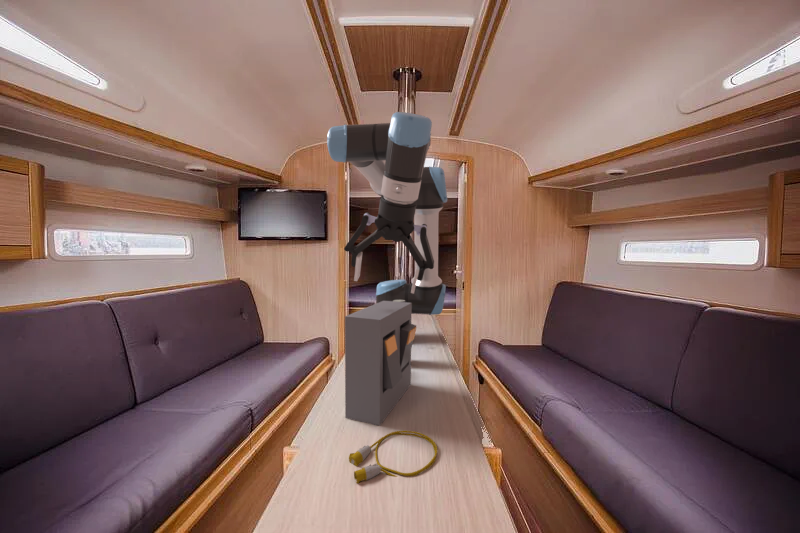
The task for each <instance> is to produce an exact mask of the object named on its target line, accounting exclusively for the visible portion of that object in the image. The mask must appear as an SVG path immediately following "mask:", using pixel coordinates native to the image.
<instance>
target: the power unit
mask: <svg viewBox="0 0 800 533" xmlns="http://www.w3.org/2000/svg"><path fill="white" fill-rule="evenodd" d="M411 313H412V303H408V302H395V301H381V302H379V303H377V304H376V303H373V304H372V305H369V306H367V307H365V308H362V309H359V310H357V311H355V312H353V313H349V314H347V315H345V316H344V342H345V343H344V353H345V354H344V362H345V363H344V365H345V367H344V371H345V372H344V376H345V377H344V378H345V379H344V382H345V383H344V386H345V388H344V389H345V394H344V396H345V397H344V399H345V401H344V402H345V404H344V405H345V406H344V407H345V411H344V412H345V417H344V418H345V419H350V420H354V421H358V422H362V423H366V424H371V425H374V426H381V425H382V423H383V422H384V420H386V418H387V416H389V414H390V413H391V412H392V410H393V409H394V408H395V406H396V405H397V404H398V402H399V401H400V400H401V398H402V397H403V395H405V393H406V391H407V390H408V389H409V388H410V386H411V385H412V381H411V380H412V351H411V352H410V357H409V361H408V363H407V364H406V365H405V366H404V367H403V368H402V369H401V372H402V378H401V379H400V381H399V382H398V383H397V384H396V385H395V386H394V388H393V389H384V387H383V337H384V336H386V335H387V334H393V333H394V335H395V339H396V344H397V350H398V356H399V361H400V331H401V329H402V328H403V327H404V326H406V325H407V324H409V323H410V324H412V314H411Z"/></svg>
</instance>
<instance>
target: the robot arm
mask: <svg viewBox="0 0 800 533" xmlns="http://www.w3.org/2000/svg"><path fill="white" fill-rule="evenodd" d="M432 127H433V122H432V119H430V117H428V116H425V115H421V114H417V113H416V114H415V113H411V112H406V111H405V112H404V111H395V112H394V113H392V115H391V118H390V122H386V123H385V122H383V123H382V122H381V123H369V124H368V123H365V124H362V123H361V124H343V125H335V126H331V127H330V128H329V129H328V132H327V136H326V137H327V138H326V144H327V150H328V154H329V157H330V158H331V160H332V161H334V162H335V163H347V162H349V163H350V164H351V165H353V167H355V169H357V170H358V172H359V173H360V174H361V175H362V176H363V177H364V178H365V179H366V180H367V181H368V183H369V185H370V186H369V187H370V189H372V191H373V192H374V193H375V194H376V195H377V196H380V198H379V205H378V213H377V216H374V215H371V213H370V212H369V211H367V212H365V213H364V214H363V216H362V218H361V221H360V225H359V226H358V228H357V229H356V231H355V232H354V233H353V235H352V236H351V238H350V239H349V241H348V242H347V243H346V245H345V246H344V252H346V253H347V252H349V253H350V254H351V264H350V265H351V267H354V277H353V282H358V280H359V279H360V277H361V269H362V262H363V261H362V260H363V251H364V250H365V249H367V247H369V246H370V245H371V244H373V243H375V242H376V241H378V240H380V239H381V238H383V239H384V240H387V241H393V242H395V243H399V242H402V243H403V246H404V247H406V249H407V251H409V254H410V255H411V257H412V258H413V260H414V276H413V278H411V280H410V282H411V283H407V280H406V279H391V280H385V281H380V282H379V283H378V284H377V285H376V292H375V297H376V298H375V299H376V301H375V304H377V303H379V302H381V301H393V300H405V301H406V302H408V303H412V313H411V315H426V316H427V315H428V316H432V315H435V316H436V315H440V314H441V313H442V312H443V309H444V305H445V304H444V303H445V297H446V296H445V295H446V287H447V286H446V284H444V283H443V280H442V279H441V277H440V276H439V217H440V216H439V215H440V214H439V213H440V211H441V210H442V209H443V208H444V204H446V203H447V202H448V195H447V194H448V193H447V192H448V191H447V185H446V176H445V170H444V169H443V168H442V167H440V166H425V163H426V159H427V154H428V151H429V149H430V146H431V142H432V141H431V135H432V133H431V132H432ZM372 223H374V224H375V227H376V228H377V229H376V230H374V232H372V233H371V234H370V235H368V236H367V237H366V238H364V239H363V240H361V242H359V243H358V244H357V245H355V243H356V242H357V241H358V239H359V237H360V236H361V235H362V233H363V232H364V231H365V229H366V228H367V226H371V224H372ZM413 232H414V237H413V238H414V240H413V238H412V236H411V234H412V233H413Z"/></svg>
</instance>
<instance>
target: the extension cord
mask: <svg viewBox="0 0 800 533" xmlns="http://www.w3.org/2000/svg"><path fill="white" fill-rule="evenodd" d="M397 435H398V436H399V435H400V436H401V435H402V436H411V437H417V438H421V439H423V440H426V441H427V442H428V443H430V445H432V448H433V451H434V455H433V457H432V459H431V460H430V461H429V462H427V464H426V465H425V466H423V467H421V468H420V469H418V470H416V471H413V472H401V471H397V470H395V469H392V468H389V467H387V466H384V465H382V464H381V463H380V462H379V457H378V448H379V445H380V444H381V443H382V442H383V441H384V440H385V439H387V438H389V437H391V436H397ZM375 446H376V447H375ZM374 447H375V452H374V456H375V462H376V463H374V464H371V463H370V464H369V465H367V466H364V467H361V469H357V470H354V472H353V476H354V477H353V478H354V480H356V481H355V483H356V484H359V483H361V482H362V481H364V482H367V481H369V480H370V479H373V478H375V477H376V476H377V475H380V474H381V473H385V474H386V475H388V476H390V477H395V478H397V477H398V475H399V476H405V477H413V476H417V475H419V474H421V473H423V472H425V471H426V470H428V469H429V468H431V467H432V466H433V465H434V464H435V462H436V460H437V454H438V449H439V448H438V446H437V443H436V442H435V441H434V440H433V439H432V438H431V437H429V436H428V435H426V434H424V433H421V432H418V431H413V430H396V431H392V432H389V433H387V434H385V435H384V436H382V437H380V438H379V439H378V440H376V441H375V442H374V443H373V444H371V445H369V444H367V445H364V446H363V447H360V448H359V449H358V450H357V451H356V452H353V453H349V455H348V461H349V463H350V464H351V465H353V466H355V467H358V466H359V465H360V464H362V463H363V462H364V460H365V459H366V458H367V457H368V456H369V454H370V453H371V452H372V448H374ZM393 473H394V474H393Z"/></svg>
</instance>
